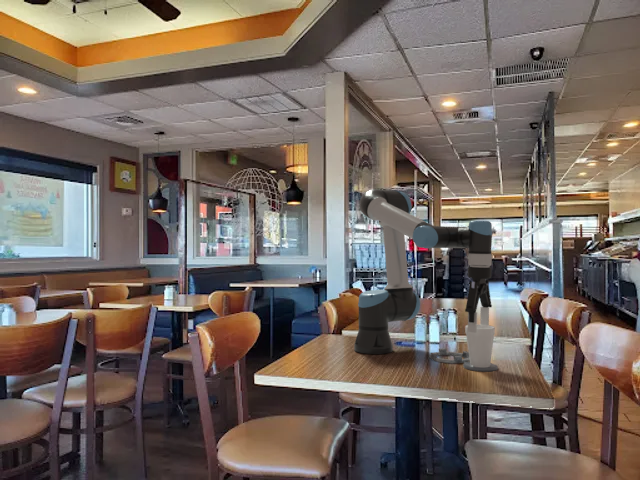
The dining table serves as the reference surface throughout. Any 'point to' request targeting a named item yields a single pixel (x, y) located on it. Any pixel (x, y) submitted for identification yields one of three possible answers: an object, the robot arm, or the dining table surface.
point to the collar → (444, 352)
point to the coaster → (480, 369)
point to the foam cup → (480, 345)
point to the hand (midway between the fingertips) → (478, 329)
